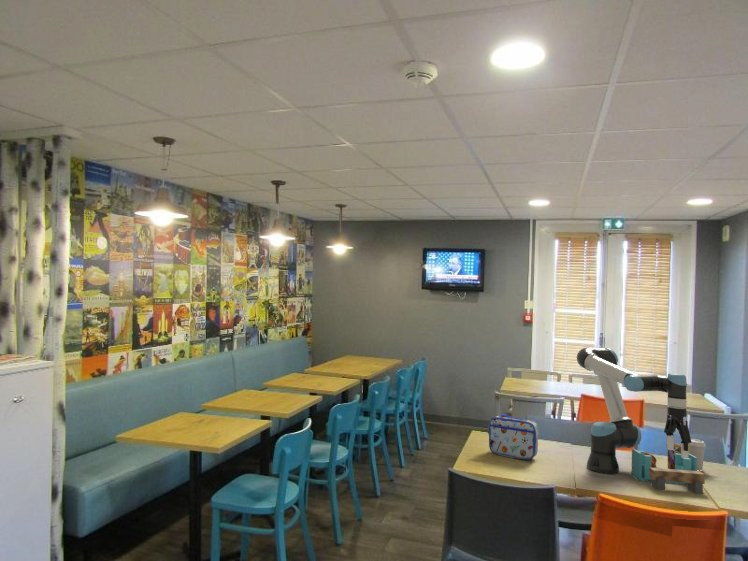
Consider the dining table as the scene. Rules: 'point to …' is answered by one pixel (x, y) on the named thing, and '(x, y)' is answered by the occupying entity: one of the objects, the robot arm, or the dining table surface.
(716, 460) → the dining table surface
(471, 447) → the dining table surface
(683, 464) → the bracket
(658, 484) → the rests
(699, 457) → the coffee cup
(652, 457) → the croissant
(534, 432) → the lunch box
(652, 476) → the rail
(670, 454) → the candy box
